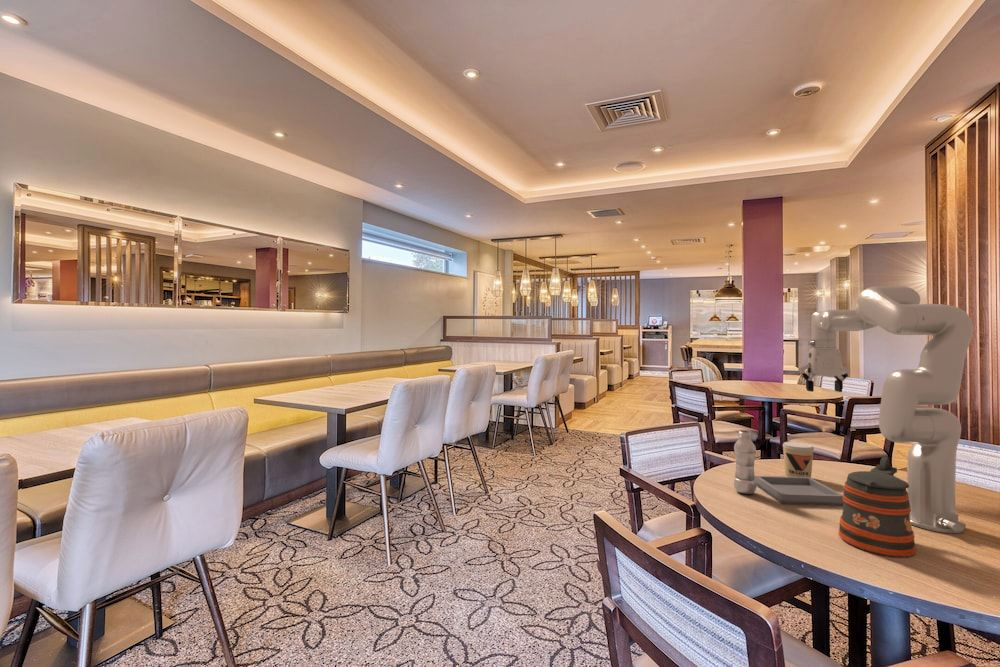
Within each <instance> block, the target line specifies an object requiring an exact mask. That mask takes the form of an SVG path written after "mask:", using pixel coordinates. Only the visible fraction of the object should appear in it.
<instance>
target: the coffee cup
mask: <svg viewBox="0 0 1000 667" xmlns="http://www.w3.org/2000/svg"><path fill="white" fill-rule="evenodd" d="M782 450H783V463H784V465H783V466H784V474H785V476H784V477H786V476H787V477H810V478H812V472H813V461H814V460H813V459H814V458H813V457H814V450H815V449H814V446H813V445H812V444H809V443H806V442H801V441H785V442H783V443H782Z"/></svg>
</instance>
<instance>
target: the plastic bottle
mask: <svg viewBox="0 0 1000 667" xmlns="http://www.w3.org/2000/svg"><path fill="white" fill-rule="evenodd" d="M737 436H738V439H737V441H736V442H735V443H734V446H733V450H734V458H735V471H734V472H735V474H734V478H733V487H734V489H735V491H736V492H737V493H739V494H740V493H741V494H745V495H753V494H755V492H756V490H757V486H756V482H755V476H756V475H755V459H756V451H757V448H756V445H755V444H754V442H753V441H752V440H751V439H752V432H751V431H749V430H738V435H737Z"/></svg>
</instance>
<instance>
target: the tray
mask: <svg viewBox="0 0 1000 667" xmlns="http://www.w3.org/2000/svg"><path fill="white" fill-rule="evenodd" d="M755 482H756V487H757V486H758V487H757V488H759V489H760V490H761V491H764V492H765V493H766V494H768V495H769V496H770V497H771V498H772V499H774V500H775V501H777V502H779V504H781V505H797V506H798V505H799V506H824V507H825V506H826V507H827V506H828V507H829V506H830V507H843V505H844V501H843V493H842V494H841V493H840V492H838V491H836V490H834V489H832V488H831V487H829V486H827V485H825V484H823V483H822V482H819V481H818V480H816V479H814V478H812V477H811V478H810V477H786V476H782V475H781V476H780V475H779V476H778V475H777V476H776V475H775V476H773V475H755Z"/></svg>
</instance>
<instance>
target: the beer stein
mask: <svg viewBox="0 0 1000 667" xmlns="http://www.w3.org/2000/svg"><path fill="white" fill-rule="evenodd" d="M896 473H898V468H897V467H893V466H890V458H889V456H886V455H885V456H884V455H882V457H881V459H880V461H879V464H877V465H876V466H875V467H873V468H871V469H870V470H869V471H868V470H867V471H866V470H861V471H853V472H850V473H848V474H847V477H846V480H845V482H844V489H843V493H842V495H843V501H844V505H843V506H842V515H840V517H839V518H840V519H839V525H838V526H839V528H838V536H839V538H840V539H841V540H843V541H844V542H846V543H847V544H848V545H851V546H853V547H854V548H857V549H859V550H861V551H864V552H868V553H871V554H875V555H882V556H887V557H892V558H907V557H908V558H909V557H912V556H915V555H916V545H915V533H914V530H913V529H912V528H913V527H912V525H911V519H910V512H911V509H910V503H909V496H908V492H907V488H909V485H908V483H907V481H906V480H903V479H902V478H900V477H897V476H895V474H896Z"/></svg>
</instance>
